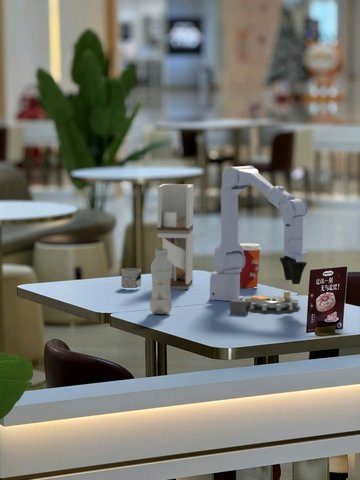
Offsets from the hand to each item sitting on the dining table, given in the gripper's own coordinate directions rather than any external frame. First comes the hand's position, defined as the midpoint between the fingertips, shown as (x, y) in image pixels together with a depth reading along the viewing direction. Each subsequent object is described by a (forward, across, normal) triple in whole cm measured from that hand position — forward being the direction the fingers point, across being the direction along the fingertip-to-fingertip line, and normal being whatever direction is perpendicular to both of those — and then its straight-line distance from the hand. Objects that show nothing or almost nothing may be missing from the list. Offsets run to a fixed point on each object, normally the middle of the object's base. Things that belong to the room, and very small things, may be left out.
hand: (292, 281), depth 380 cm
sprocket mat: (+9, +7, +5) cm, 13 cm away
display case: (+10, +50, +27) cm, 58 cm away
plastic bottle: (+10, +3, +41) cm, 42 cm away
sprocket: (+9, +7, +5) cm, 13 cm away
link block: (+10, 0, +17) cm, 19 cm away
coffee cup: (+10, +45, +2) cm, 46 cm away
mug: (+10, +50, +42) cm, 66 cm away
